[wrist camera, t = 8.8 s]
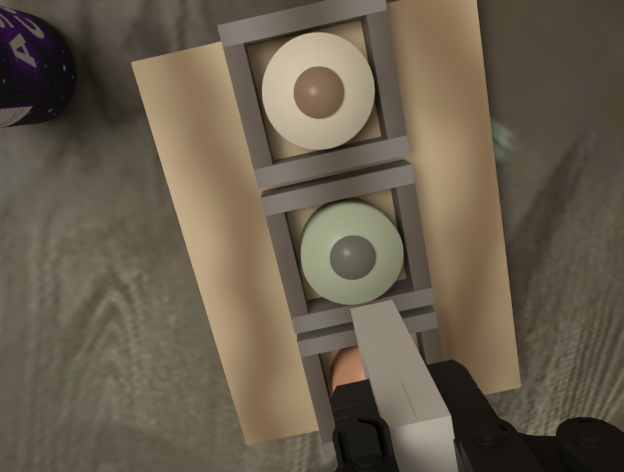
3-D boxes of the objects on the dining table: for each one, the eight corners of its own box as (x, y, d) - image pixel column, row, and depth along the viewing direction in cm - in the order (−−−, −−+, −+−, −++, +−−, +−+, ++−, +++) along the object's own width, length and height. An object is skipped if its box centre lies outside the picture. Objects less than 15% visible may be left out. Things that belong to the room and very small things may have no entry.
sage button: (311, 296, 30) (313, 315, 27) (290, 209, 28) (290, 220, 26) (401, 277, 30) (412, 294, 27) (385, 188, 28) (394, 197, 26)
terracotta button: (340, 418, 32) (344, 445, 30) (322, 343, 31) (325, 365, 28) (423, 400, 32) (435, 426, 30) (410, 324, 30) (420, 345, 28)
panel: (251, 432, 35) (246, 474, 31) (139, 54, 28) (114, 49, 24) (509, 377, 34) (536, 412, 31) (460, -20, 28) (488, -37, 24)
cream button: (277, 154, 27) (276, 161, 25) (253, 50, 26) (249, 46, 23) (375, 132, 27) (384, 136, 25) (356, 26, 26) (363, 20, 23)
